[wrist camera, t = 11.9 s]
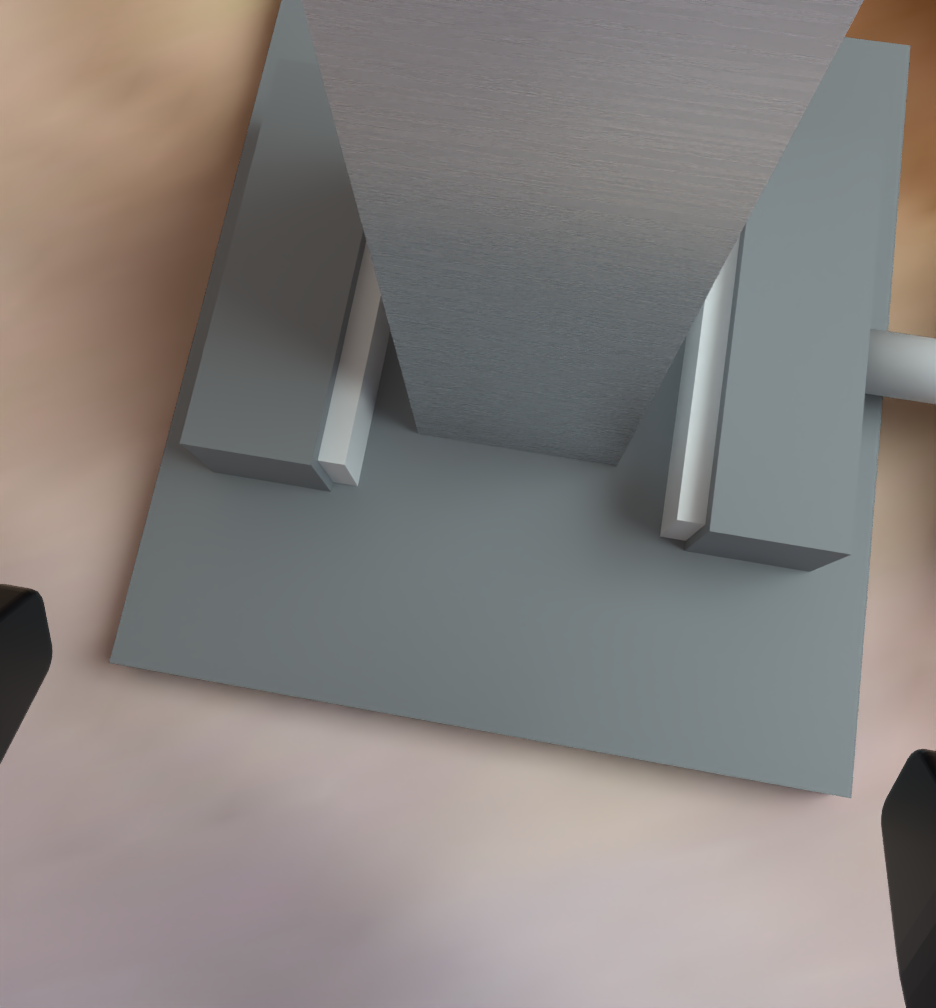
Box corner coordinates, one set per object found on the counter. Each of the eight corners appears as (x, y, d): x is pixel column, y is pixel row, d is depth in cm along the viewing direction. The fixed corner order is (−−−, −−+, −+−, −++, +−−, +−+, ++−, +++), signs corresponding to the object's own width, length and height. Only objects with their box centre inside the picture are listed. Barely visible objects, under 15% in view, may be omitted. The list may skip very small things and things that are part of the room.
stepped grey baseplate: (1034, 830, 17) (1141, 855, 14) (125, 664, 18) (58, 657, 15) (1060, 92, 20) (1150, -4, 17) (298, -7, 21) (268, -113, 18)
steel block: (617, 466, 17) (871, -18, 6) (418, 434, 18) (276, -92, 6) (650, 239, 19) (922, -557, 7) (462, 211, 19) (414, -602, 7)
